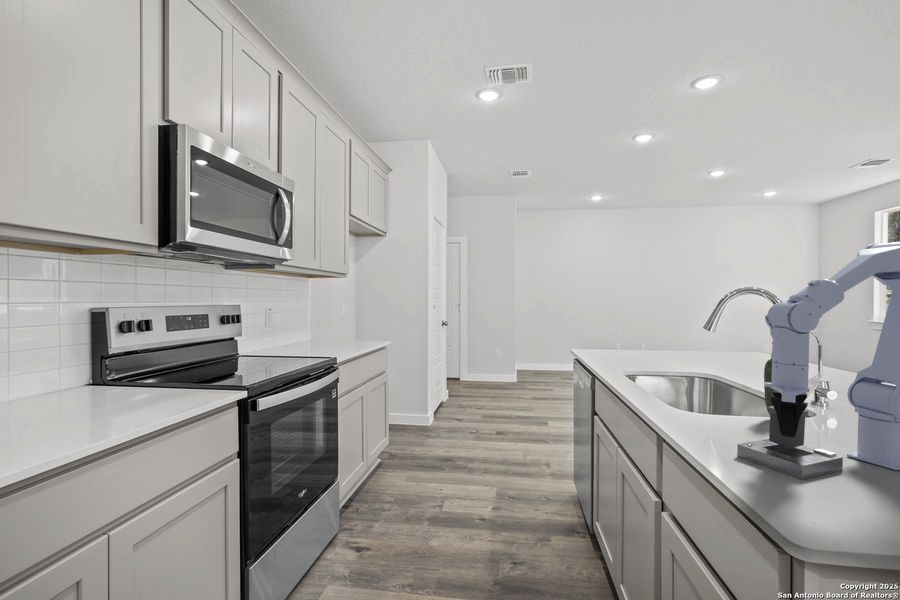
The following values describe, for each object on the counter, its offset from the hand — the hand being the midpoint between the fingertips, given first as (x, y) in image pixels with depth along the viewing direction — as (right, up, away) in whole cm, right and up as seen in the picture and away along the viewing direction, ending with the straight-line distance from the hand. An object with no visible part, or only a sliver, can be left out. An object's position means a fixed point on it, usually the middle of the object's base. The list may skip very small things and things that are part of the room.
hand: (788, 431), depth 87 cm
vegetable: (+19, -6, +30) cm, 36 cm away
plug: (0, -2, +1) cm, 2 cm away
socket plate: (0, -6, 0) cm, 6 cm away
